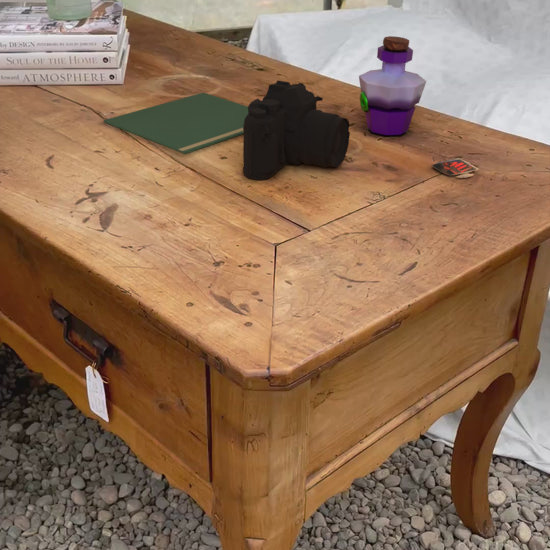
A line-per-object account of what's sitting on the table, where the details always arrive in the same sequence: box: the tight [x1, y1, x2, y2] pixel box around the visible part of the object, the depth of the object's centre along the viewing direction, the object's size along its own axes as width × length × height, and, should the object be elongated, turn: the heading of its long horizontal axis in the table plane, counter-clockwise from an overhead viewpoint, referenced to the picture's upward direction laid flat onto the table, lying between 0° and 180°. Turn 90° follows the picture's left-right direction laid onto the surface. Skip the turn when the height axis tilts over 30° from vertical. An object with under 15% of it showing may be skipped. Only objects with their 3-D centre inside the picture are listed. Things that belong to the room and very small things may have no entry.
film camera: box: [242, 79, 351, 181], centre depth 90 cm, size 15×10×9 cm, turn 154°
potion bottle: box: [358, 35, 427, 138], centre depth 100 cm, size 9×9×12 cm
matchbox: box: [431, 157, 479, 179], centre depth 91 cm, size 5×5×1 cm
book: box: [103, 92, 249, 155], centre depth 104 cm, size 18×16×1 cm
